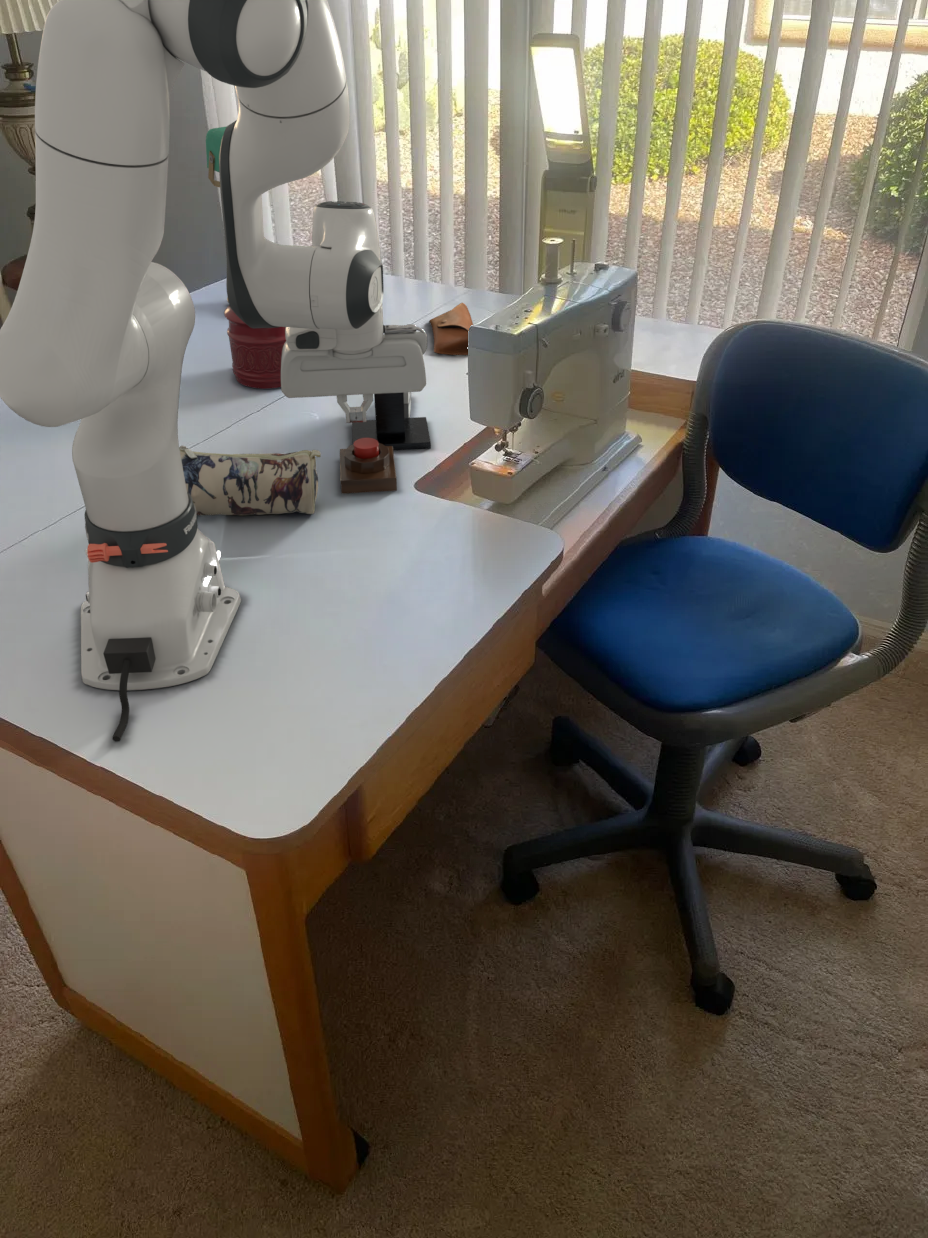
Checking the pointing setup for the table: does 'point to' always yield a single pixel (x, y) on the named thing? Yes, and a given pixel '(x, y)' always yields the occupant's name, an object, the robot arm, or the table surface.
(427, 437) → the bracket
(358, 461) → the control block
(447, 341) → the sunglasses case
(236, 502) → the pencil case
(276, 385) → the kitchen canister
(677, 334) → the table surface
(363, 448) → the button
